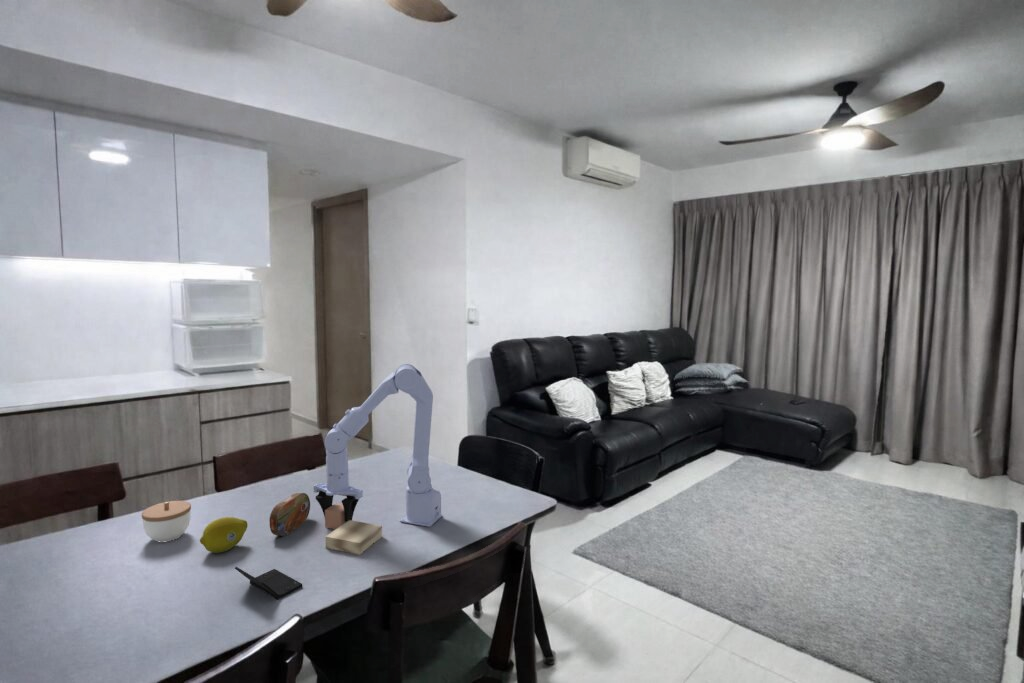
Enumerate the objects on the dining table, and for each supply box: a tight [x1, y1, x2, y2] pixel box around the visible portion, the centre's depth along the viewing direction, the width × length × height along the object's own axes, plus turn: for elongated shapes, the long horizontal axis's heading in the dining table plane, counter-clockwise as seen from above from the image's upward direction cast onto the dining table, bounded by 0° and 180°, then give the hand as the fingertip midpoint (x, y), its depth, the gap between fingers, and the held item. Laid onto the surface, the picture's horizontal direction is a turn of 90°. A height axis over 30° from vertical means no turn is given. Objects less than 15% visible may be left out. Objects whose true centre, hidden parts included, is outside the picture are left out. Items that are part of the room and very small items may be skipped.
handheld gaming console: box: [234, 566, 303, 601], centre depth 115 cm, size 12×7×10 cm
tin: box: [269, 492, 311, 537], centre depth 143 cm, size 15×3×8 cm, turn 168°
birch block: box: [325, 519, 383, 556], centre depth 136 cm, size 10×10×3 cm
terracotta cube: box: [324, 502, 345, 530], centre depth 146 cm, size 5×5×5 cm
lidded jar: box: [141, 500, 192, 542], centre depth 137 cm, size 11×11×9 cm
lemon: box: [199, 516, 248, 554], centre depth 131 cm, size 11×8×8 cm
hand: (338, 519), depth 146 cm, fingers open, 6 cm apart
